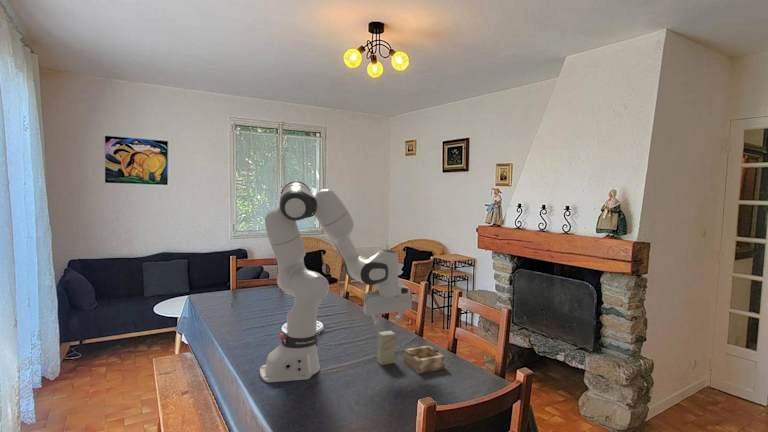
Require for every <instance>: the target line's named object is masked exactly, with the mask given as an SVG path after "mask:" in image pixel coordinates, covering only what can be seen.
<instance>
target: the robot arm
mask: <svg viewBox="0 0 768 432" xmlns="http://www.w3.org/2000/svg"><path fill="white" fill-rule="evenodd" d="M279 197H280V198H279V207H277V208H275V209H272V210H271V211H269V212H268V213H267V214H266V215H265V218H264V225H265V230H266V231H265V232H266V234H267V236H268V240H269V243H270V246H271V249H272V251H273V254H274V257H275V259H276V262H277V263H276V264H277V269H278V273H277V276H276V285H277V286H278V287H279V288H280V289H281V290H282V292H284V293H285V294H287V295H289V296H293V298H294V299H293V300H294V301H293V305H292V308H291V309H290V310H289V311H288V312H287V314H286V315H287V316H286V333H285V334H284V332H279V334H278V338H279V339H280V340H281V343H280V344H279V345H278V346H277V347H276V348H275V349H273V350H271V352H269V353H268V355H267V358H266V362H265V364H262V366H261V367H260V368H259V376H260V379H261V380H262V381H264V382H265V383H279V382H293V381H294V382H295V381H303V380H304V381H305V380H310V379H311V378H312V377H313V376H314V375H315V374H317V373H318V372H319V371H320V370H321V365H320V361H319V356H318V343H319V339H318V338H319V337H318V332H317V325H318V324H317V323H318V322H317V321H318V320H317V319H318V317H317V316H318V311H319V308H320V304H321V302H322V301H323V300H324V299H326V297H327V295H328V293H329V289H330V284H329V280H328V279H327V278H326V277H325V276H323V275H322V274H321V273H320V272H317V271H313V270H309V269H308V268H307V267H306V265H305V260H304V258H305V256H306V255H307V251H306V246H305V244H304V242H303V241H304V240H303V238H302V235H301V233H300V230H299V227H298V224H297V222H298V221H301V220H304V219H308V218H312V217H315V218H316V220H317V221H318V222H319V224H320V226H321V227H322V229H323V230H324V231H325V233H326V234H327V235H328V237H329V238H330V240H331V241H332V243H333V244H334V246H335V248H336V249H337V252H338V253H339V254H340V256H341V258H342V260H343V263H344V270H345V273H346V275H347V277H348V278H350V279H352V280H353V281H357V282H360V283H362V284H364V285H366V286H373V285H375V286H376V290H373V291H367V292H366V293H364V295H363V308H362V309H363V310H362V312H363V313H364V315H366V316H367V317H369V316H371V317H372V319H373V320H374V325H375V326H379V325H380V320H379V319H377V317H378V315H383V314H389V313H398V314H397V316H395V322H396V323H400V322H401V321H402V320H401V319H402V317H403V315H404V311H410V310H411V309H412V305H413V304H412V303H413V302H412V301H413V300H412V296H411V294H410V292H411V288H410V287H408V286H406V285H404V284H400V283H399V282H400V280H399V272H400V264H399V255H398V253H397V252H396V251H395V250H391V249H386V248H380V249H378V251H377V252H376V253H375V254H374V255H372V256H370V257H368V258H367V257H365V256H363V255H361V254H360V253H359V252H358V251H357V249H356V248H355V245H354V244H353V242H352V240H351V238H350V235H351V234H352V232H353V229H354V226H355V224H354V221H353V218H352V215H351V214H350V212H349V211H348V208H346V207H347V206H346V205H345V204H344V203H343V201H342V200H341V199H340V197H339V196H338V195H337V194H336V193H335V192H334V191H333V190H332V189H329V188H323V189H320V190H318V191H315V192H312V191H311V189H310V187H309V186H308V185H307V184H306V183H304V182H302V181H299V180H295V181H291V182H289V183H287V184H285V186H284V187H283V189H282V192H281V193H280V196H279Z"/></svg>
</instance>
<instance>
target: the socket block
mask: <svg viewBox="0 0 768 432" xmlns="http://www.w3.org/2000/svg"><path fill="white" fill-rule="evenodd" d="M403 363H404V364H406V365H407V366H408V367H409V368H410V369H412V370H413V371H414V372H415V373H416V374H417V375H419V374H424V373H429V372H433V371H439V370H444V369H445V367H446V366H445V365H446V356H445V355H444V354H443V353H441V352H440V351H439V349H437V348H434V347H433V346H431V345H423V346H417V347H410V348H405V349H403Z"/></svg>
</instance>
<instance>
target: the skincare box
mask: <svg viewBox="0 0 768 432" xmlns="http://www.w3.org/2000/svg"><path fill="white" fill-rule="evenodd" d="M376 351H377V353H376V362H377V363H378V364H380V365H381V366H385V365H389V364H390V365H391V364H395V360H396V358H395V357H396V333H395V332H393V331H392V330H391V329H390V330H383V331H378V332H377V347H376Z"/></svg>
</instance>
